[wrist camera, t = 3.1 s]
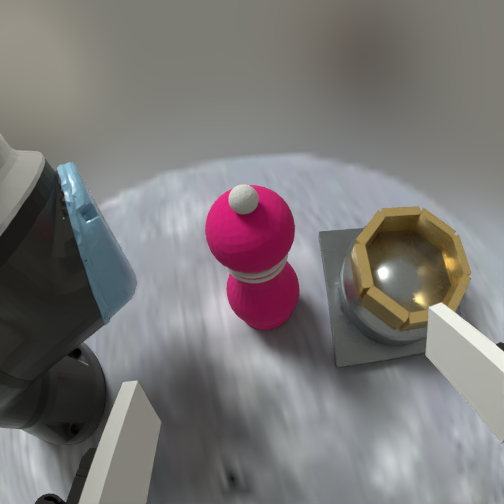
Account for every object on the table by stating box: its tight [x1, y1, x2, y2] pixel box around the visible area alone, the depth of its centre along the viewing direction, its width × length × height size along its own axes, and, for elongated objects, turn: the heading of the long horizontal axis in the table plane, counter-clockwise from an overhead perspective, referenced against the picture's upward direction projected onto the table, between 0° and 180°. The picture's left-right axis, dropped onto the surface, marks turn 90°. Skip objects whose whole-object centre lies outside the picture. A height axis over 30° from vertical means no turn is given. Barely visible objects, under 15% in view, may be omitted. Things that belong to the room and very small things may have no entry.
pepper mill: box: [205, 184, 299, 330], centre depth 26 cm, size 7×7×20 cm
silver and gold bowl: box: [319, 206, 471, 368], centre depth 30 cm, size 16×16×8 cm
